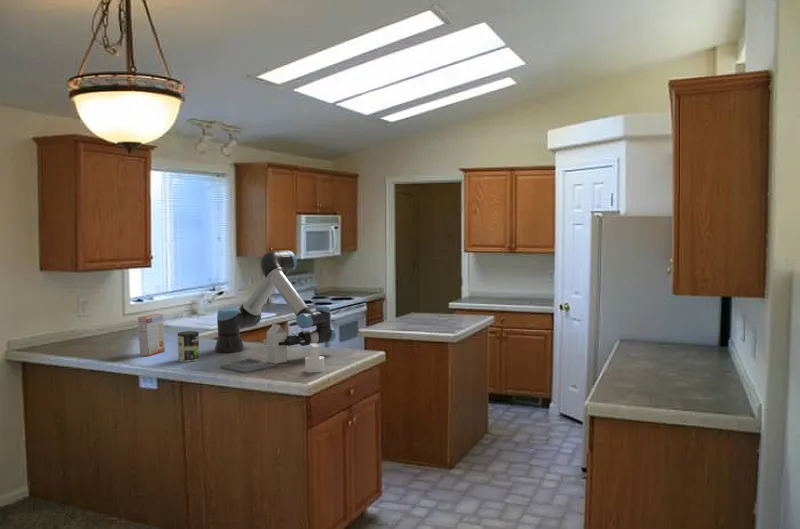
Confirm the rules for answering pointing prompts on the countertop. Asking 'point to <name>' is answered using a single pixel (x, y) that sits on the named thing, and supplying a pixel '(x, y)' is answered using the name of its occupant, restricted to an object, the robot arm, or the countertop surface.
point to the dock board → (248, 368)
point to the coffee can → (188, 346)
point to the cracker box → (151, 334)
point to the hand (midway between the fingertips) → (268, 343)
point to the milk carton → (276, 353)
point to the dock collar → (255, 361)
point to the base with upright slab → (314, 360)
